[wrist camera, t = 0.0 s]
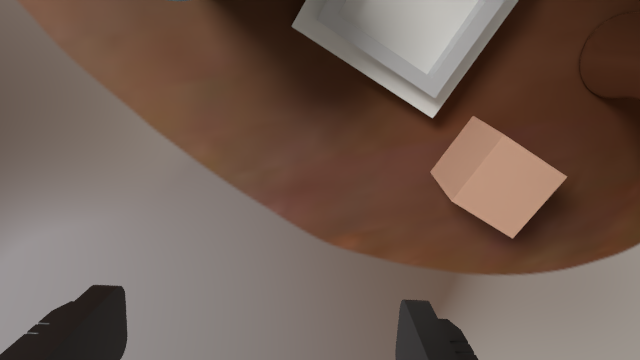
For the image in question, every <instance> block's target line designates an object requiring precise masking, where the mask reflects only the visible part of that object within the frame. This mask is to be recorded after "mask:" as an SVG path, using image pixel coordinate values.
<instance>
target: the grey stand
mask: <svg viewBox="0 0 640 360" xmlns="http://www.w3.org/2000/svg"><path fill="white" fill-rule="evenodd" d="M517 2H518V0H306V1H305V3H304V5H303V6H302V8H301V10H300V12H299V14H298V15H297V17H296V19H295V21H294V22H293V24H292V27H293V28H295V29H296V30H298V31H299V32H301V33H302V34H304V35H305V36H307V37H308V38H310V39H311V40H313V41H315V42H316V43H318V44H319V45H321V46H322V47H324V48H325V49H327V50H328V51H330V52H331V53H333V54H334V55H336V56H338V57H339V58H341V59H342V60H344V61H345V62H347V63H348V64H350V65H351V66H353V67H354V68H356V69H357V70H359V71H361V72H362V73H364V74H365V75H367V76H368V77H370V78H371V79H373V80H374V81H376V82H377V83H379V84H380V85H382V86H384V87H385V88H387V89H388V90H390V91H391V92H393V93H394V94H396V95H397V96H399V97H400V98H402V99H403V100H405V101H407V102H408V103H410V104H411V105H413V106H414V107H416V108H417V109H419V110H420V111H422V112H423V113H425V114H426V115H428V116H430V117H431V118H433V117H434V116H435V115H436V113H437V112H438V111H439V109H440V108H441V106H442V105H443V104H444V102H445V101H446V100H447V98H448V97H449V95H450V94H451V93H452V91H453V90H454V89H455V87H456V86H457V84H458V83H459V82H460V80H461V79H462V78H463V76H464V75H465V73H466V72H467V71H468V69H469V68H470V66H471V65H472V64H473V62H474V61H475V60H476V58H477V57H478V55H479V54H480V53H481V51H482V50H483V49H484V47H485V46H486V44H487V43H488V42H489V40H490V39H491V38H492V36H493V35H494V33H495V32H496V31H497V29H498V28H499V27H500V25H501V24H502V22H503V21H504V20H505V18H506V17H507V16H508V14H509V13H510V11H511V10H512V9H513V7H514V6H515V5H516V3H517Z"/></svg>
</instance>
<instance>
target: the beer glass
mask: <svg viewBox="0 0 640 360" xmlns="http://www.w3.org/2000/svg"><path fill="white" fill-rule="evenodd" d="M580 74H581V78H582V80H583V82H584V84H585V85H586V87H587V88H588V89H589V90H590V91H592V92H593V93H594V94H596V95H598V96H601V97H604V98H610V99H636V100H639V101H640V13H637V12H631V13H624V14H620V15H617V16H615V17H613V18H610V19H609V20H607V21H605V22H604V23H603V24H601V25H600V26H599V27H598V28H597V29H596V30H595V31H594V32H593V33H592V34H591V36H590V37H589V38H588V40H587V42H586V43H585V45H584V48H583V50H582V53H581V57H580Z"/></svg>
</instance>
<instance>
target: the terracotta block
mask: <svg viewBox="0 0 640 360" xmlns="http://www.w3.org/2000/svg"><path fill="white" fill-rule="evenodd" d="M430 173H431V174H432V175H433V177H434V178H435V179H436V181H437V182H438V183H439V185H440V186H441V188H442V189H443V190H444V192H445V193H446V194H447V196H448V197H449V199H450V200H451V201H452V202H454V203H455V204H457V205H459V206H460V207H462V208H464V209H465V210H467V211H468V212H470V213H472V214H473V215H475V216H477V217H478V218H480V219H481V220H483V221H485V222H486V223H488V224H490V225H491V226H493V227H494V228H496V229H498V230H499V231H501V232H503V233H504V234H506V235H508V236H509V237H511V238H512V239H513V238H514V237H515V235H516V234H517V233H518V232H519V231H520V230H521V229H522V227H523V226H524V225H525V224H526V223H527V222H528V221H529V220H530V218H531V217H532V216H533V215H534V214H535V213H536V212H537V211H538V209H539V208H540V207H541V206H542V205H543V204H544V203H545V202H546V200H547V199H548V198H549V197H550V196H551V195H552V194H553V192H554V191H555V190H556V189H557V188H558V187H559V186H560V185H561V183H562V182H563V181H564V180H565V179H566V178H567V176H565V175H564V174H562V173H561V172H559V171H558V170H556V169H555V168H553V167H552V166H550V165H549V164H547V163H546V162H544V161H543V160H541V159H540V158H538V157H537V156H535V155H534V154H532V153H531V152H529V151H528V150H526V149H525V148H523V147H522V146H520V145H519V144H517V143H516V142H514V141H513V140H511V139H510V138H508V137H507V136H505V135H504V134H502V133H501V132H499V131H497V130H496V129H494V128H492V127H491V126H489V125H487V124H486V123H484V122H482V121H481V120H479V119H478V118H476V117H474V116H473V117H472V118H471V119H470V120H469V122H468V123H467V124H466V126H465V127H464V128H463V130H462V131H461V132H460V134H459V135H458V136H457V138H456V139H455V140H454V142H453V143H452V144H451V145H450V147H449V148H448V149H447V151H446V152H445V153H444V155H443V156H442V157H441V159H440V160H439V161H438V163H437V164H436V165H435V167H434V168H433V169H432V170H431V172H430Z"/></svg>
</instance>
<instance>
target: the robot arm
mask: <svg viewBox="0 0 640 360" xmlns="http://www.w3.org/2000/svg"><path fill="white" fill-rule="evenodd" d="M126 343H127V320H126V301H125V291H124V289H123V287H122V286H109V285H93V286H91V287H90V288H89V289H88V290H87V291H86V292H84V293H83V294H82V295H81V296H80V297H79V298H78V299H76V300H75V301H74V302H73V301H71V302H69V303H67V304H65V305H63V306H61V307H59V308H57V309H55V310H53V311H51V312H50V313H49V314H48V315H46V316H45V317H44V318H43V319H42V320H41V321H39V323H38V325H35V326H33V327H32V328H31V329H30V330H29V331H28V332H27V334H24V335H23V336H22V337H20V338H19V339H18V340H17V341H16V342H15V343H13V344H12V345H11V346H10V347H9V348H8V349H6V350H5V351H4V352H3V353H2V354H0V360H120V359H121V358H122V356H123V353H124V351H125V348H126ZM396 360H478V358H477V357H476V355H474V351H473V350H472V348H471V346H470V345H469V344H468V341H467V340H466V338H465V336H464V335H463V333H462V331H461V330H460V329H459V328H458V327H457V326H455V325H454V324H453V323H451V322H450V321H449V320H448V319H438V318H437V316H436V314H435V312H434V310H433V308H432V306H431V304H430V303H429V301H421V300H402V301H401V305H400V312H399V322H398V331H397V341H396Z"/></svg>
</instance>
